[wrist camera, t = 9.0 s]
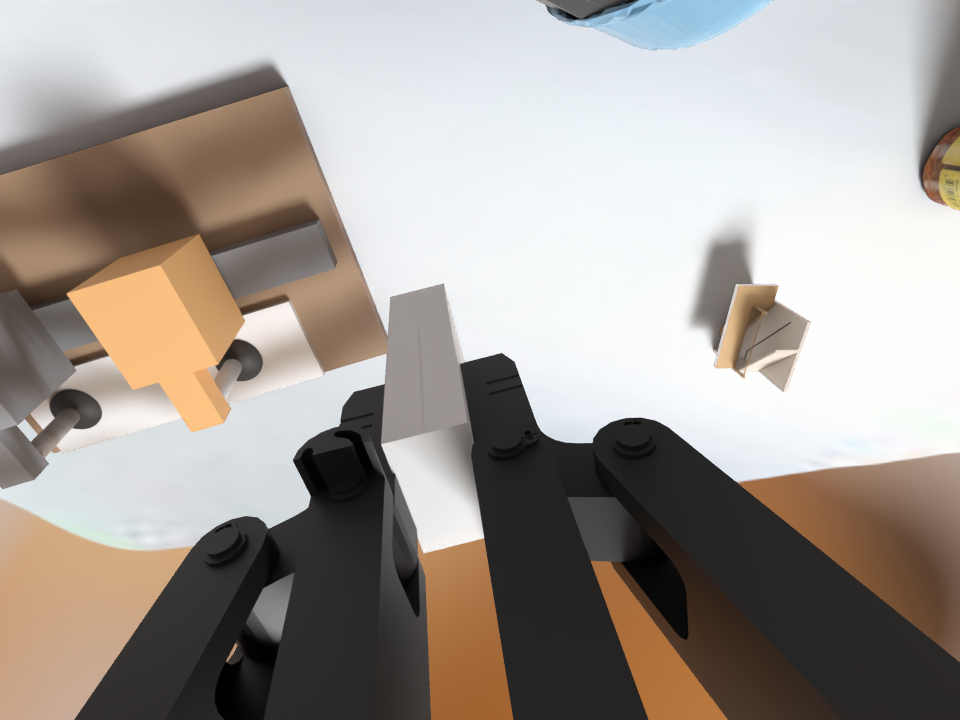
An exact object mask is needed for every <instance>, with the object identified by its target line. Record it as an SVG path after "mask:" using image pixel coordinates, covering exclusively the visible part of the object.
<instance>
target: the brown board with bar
mask: <svg viewBox="0 0 960 720" xmlns="http://www.w3.org/2000/svg"><path fill="white" fill-rule="evenodd" d="M197 234H199V235H200V237H201V239H202V240H203V242H204V244H205V246H206V248H207V250H208V252H209V254H210V255H211V257H212V259H213V261H214V263H215V265H216V267H217V269H218V270H219V272H220V274H221V276H222V278H223V280H224V282H225V284H226V285H227V287H228V289H229V291H230V293H231V295H232V297H233V299H234V300H235V302H236V304H237V306H238V308H239V310H240V312H241V314H242V316H243V317H244V319H245V323H244V324H243V326H242V327H241V329H240V331H239V332H238V334H237V335H236V337H235V339H234V340H233V342H232V343H231V345H230V347H229V348H228V350H227V351H226V353H225V355H224V356H223V358H222V359H221V361H220V363H219V364H218V365H215V366H211V367H208V368H207V370H208V371H209V373H210V375H211V376H212V378H213V380H214V379H215V377H216V376H217V374H218V372H219V371H220V369H221V367H222V366H223V364H224V363H225V361H226V360H228V359H235V360H237V361H239V362H240V363H241V365H242V370H241V372H240V374H239V376H238V378H237V380H236V382H235V384H234V385H233V387H232V389H231V391H230V393H229V395H228V397H227V398H226V401H227V403H228V404H230V403H233V402H237V401H240V400H243V399H247V398H250V397H253V396H257V395H260V394H263V393H267V392H270V391H273V390H277V389H280V388H283V387H287V386H290V385H293V384H297V383H300V382H303V381H307V380H310V379H313V378H317V377H320V376H323V375H324V373H325V372H326V371H330V370H333V369H336V368H340V367H343V366H346V365H350V364H353V363H356V362H360V361H363V360H366V359H370V358H373V357H376V356H380V355H383V354H386V353H387V343H388V336H387V334H386V331H385V329H384V326H383V324H382V321H381V319H380V316H379V314H378V311H377V309H376V306H375V304H374V301H373V298H372V296H371V293H370V291H369V288H368V286H367V283H366V281H365V278H364V276H363V273H362V271H361V268H360V266H359V263H358V261H357V258H356V256H355V253H354V251H353V248H352V245H351V243H350V240H349V238H348V235H347V233H346V230H345V228H344V225H343V223H342V220H341V218H340V215H339V213H338V210H337V208H336V205H335V203H334V200H333V197H332V195H331V192H330V190H329V187H328V185H327V182H326V180H325V177H324V175H323V172H322V170H321V167H320V165H319V162H318V160H317V157H316V155H315V152H314V149H313V147H312V144H311V142H310V139H309V137H308V134H307V132H306V129H305V127H304V124H303V122H302V119H301V117H300V114H299V112H298V109H297V107H296V104H295V102H294V99H293V96H292V94H291V91H290V89H289V87H283V88H280V89H277V90H274V91H271V92H267V93H264V94H261V95H258V96H254V97H251V98H248V99H245V100H242V101H238V102H235V103H232V104H229V105H225V106H222V107H219V108H216V109H212V110H209V111H206V112H203V113H200V114H196V115H193V116H190V117H187V118H183V119H180V120H177V121H174V122H170V123H167V124H164V125H161V126H158V127H154V128H151V129H148V130H145V131H141V132H138V133H135V134H132V135H129V136H125V137H122V138H119V139H116V140H112V141H109V142H106V143H103V144H99V145H96V146H93V147H90V148H87V149H83V150H80V151H77V152H74V153H70V154H67V155H64V156H61V157H57V158H54V159H51V160H48V161H45V162H41V163H38V164H35V165H32V166H28V167H25V168H22V169H19V170H16V171H12V172H9V173H6V174H3V175H0V487H1V488H2V489H5V488H8V487H11V486H15V485H18V484H21V483H25V482H28V481H31V480H35V479H36V477H37V476H38V475H39V474H40V473H41V472H42V471H43V470H44V468H45V467H46V466H47V465H48V464H49V463H48V462H47V461H46V460H45V457H46V456H47V455H48V454H49V453H50V452H51V451H52V452H53V453H57V452H60V451H61V452H62V453H63V454H64V453H67V452H70V451H74V450H77V449H80V448H84V447H87V446H90V445H94V444H97V443H100V442H104V441H107V440H110V439H114V438H117V437H120V436H124V435H127V434H130V433H134V432H137V431H140V430H144V429H147V428H150V427H154V426H157V425H160V424H164V423H167V422H170V421H174V420H177V419H180V418H182V417H181V415H180V414H179V412H178V411H177V409H176V408H175V406H174V405H173V403H172V402H171V400H170V399H169V397H168V396H167V394H166V393H165V391H164V390H163V388H162V387H161V385H160V384H159V382H158V383H155V384H152V385H148V386H145V387H142V388H138V389H135V390H133V389H132V388H131V386H130V385H129V383H128V382H127V380H126V379H125V378H124V376H123V375H122V373H121V372H120V370H119V369H118V367H117V366H116V365H115V363H114V362H113V360H112V359H111V357H110V356H109V354H108V353H107V352H106V350H105V349H104V347H103V346H102V344H101V343H100V342H99V340H98V339H97V337H96V336H95V334H94V333H93V331H92V330H91V329H90V327H89V326H88V324H87V323H86V321H85V320H84V318H83V317H82V316H81V314H80V313H79V311H78V310H77V308H76V307H75V305H74V304H73V303H72V301H71V300H70V298H69V297H68V295H67V293H68V292H70V291H71V290H73V289H74V288H76V287H77V286H79V285H80V284H82V283H83V282H85V281H86V280H88V279H89V278H91V277H92V276H94V275H95V274H97V273H98V272H100V271H101V270H103V269H104V268H106V267H107V266H109V265H110V264H112V263H113V262H115V261H116V260H118V259H119V258H122V257H125V256H128V255H131V254H135V253H138V252H141V251H144V250H148V249H151V248H154V247H158V246H161V245H164V244H167V243H171V242H174V241H177V240H180V239H184V238H187V237H190V236H193V235H197ZM24 419H26V421H27V422H28V423H29V424H30V425H31V427H32V428H33V429H34V430H35V431H36V433H37V434H38V435H37V436H36V437H35V438H34V439H33V440H32V441H31V442H30V441H29V440H28V438H27V437H26V436H25V435H24V434H23V433H22V431H21V430H20V429H19V428H18V427H17V426H16V425H18V424H20V423H21V422H22V421H23V420H24Z"/></svg>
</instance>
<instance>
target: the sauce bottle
mask: <svg viewBox="0 0 960 720" xmlns="http://www.w3.org/2000/svg"><path fill="white" fill-rule="evenodd" d="M922 178H923V184H924V190H925V192H926V194H927V196H928V197H929V198H930V199H931V200H933V201H935V202H937V203H939V204H942V205H945V206H950V207H951V208H953V209H955V210H959V211H960V126H959V127H956V128H954V129H953V130H951V131H950V132H948V133H947V134H945V135H944V136H943V137H942V139H941V140H940V141H939V142H938V144H937V145H936V146H935V148H934V150H933V151H932V153H931V155H930V156H929V158H928V160H927V162H926V164H925V167H924V172H923V177H922Z"/></svg>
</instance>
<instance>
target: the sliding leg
mask: <svg viewBox="0 0 960 720" xmlns="http://www.w3.org/2000/svg"><path fill="white" fill-rule="evenodd" d="M67 295H68V297H69V298H70V300H71V301H72V303H73V304H74V305H75V307H76V308H77V310H78V311H79V313H80V314H81V316H82V317H83V318H84V320H85V321H86V323H87V324H88V326H89V327H90V329H91V330H92V331H93V333H94V334H95V336H96V337H97V339H98V340H99V342H100V343H101V344H102V346H103V347H104V349H105V350H106V352H107V353H108V354H109V356H110V357H111V359H112V360H113V362H114V363H115V365H116V366H117V367H118V369H119V370H120V372H121V373H122V375H123V376H124V378H125V379H126V380H127V382H128V383H129V385H130V386H131V388H132V389H133V390H135V389H138V388H142V387H145V386H148V385H152V384H155V383H158V382H159V384H160V385H161V387H162V388H163V390H164V391H165V393H166V394H167V396H168V397H169V399H170V400H171V402H172V403H173V405H174V406H175V408H176V409H177V411H178V412H179V414H180V415H181V417H182V418H183V420H184V421H185V423H186V425H187V426H188V428H189V429H190V431H191V432H195V431H198V430H201V429H205V428H208V427H211V426H215V425H218V424H221V423H224V422H225V420H226V418H227V416H228V414H229V412H230V410H231V408H230V406H229V405H228V403H227V401H226V398H227V397H228V395H229V393H230V391H231V389H232V387H233V385H234V384H235V382H236V380H237V378H238V376H239V374H240V372H241V370H242V365H241V363H240V362H239V361H237V360H235V359H228V360H226V361H225V363H224V364H223V366H222V367H221V369H220V371H219V372H218V374H217V376H216V377H215V379H214V380H213V378H212V376H211V375H210V373H209V371H208V370H207V368H208V367H211V366H215V365H218V364H219V363H220V361H221V359H222V358H223V356H224V355H225V353H226V351H227V350H228V348H229V347H230V345H231V343H232V342H233V340H234V339H235V337H236V335H237V334H238V332H239V331H240V329H241V327H242V326H243V324H244V323H245V319H244V317H243V316H242V314H241V312H240V310H239V308H238V306H237V304H236V302H235V300H234V299H233V297H232V295H231V293H230V291H229V289H228V287H227V285H226V284H225V282H224V280H223V278H222V276H221V274H220V272H219V270H218V269H217V267H216V265H215V263H214V261H213V259H212V257H211V255H210V254H209V252H208V250H207V248H206V246H205V244H204V242H203V240H202V239H201V237H200V235H199V234H197V235H193V236H190V237H187V238H184V239H180V240H177V241H174V242H171V243H167V244H164V245H161V246H158V247H154V248H151V249H148V250H144V251H141V252H138V253H135V254H131V255H128V256H125V257H122V258H119V259H118V260H116V261H115V262H113V263H112V264H110V265H109V266H107V267H106V268H104V269H103V270H101V271H100V272H98V273H97V274H95V275H94V276H92V277H91V278H89V279H88V280H86V281H85V282H83V283H82V284H80V285H79V286H77V287H76V288H74V289H73V290H71V291H70V292H68V293H67Z"/></svg>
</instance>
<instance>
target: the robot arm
mask: <svg viewBox="0 0 960 720" xmlns="http://www.w3.org/2000/svg"><path fill="white" fill-rule="evenodd" d="M537 1H539V2H541V3H543V4H545V5H546V7H547V10H548V12H549V13H550V14H551V15H552V16H554V17H555V18H557V19H558V20H560V21H562V22H564V23H566V24H569V25H574V26H583V27H592V28H594V29H597V30H599V31H601V32H603V33H606V34H608V35H610V36H613V37H615V38H617V39H619V40H622V41H624V42H626V43H628V44H631V45H633V46H635V47H638V48H641V49H647V50H659V49H671V50H675V49H678V48H686V47H691V46H694V45H697V44H699V43H702V42H705V41H707V40H710V39H712V38H714V37H716V36H718V35H720V34H722V33H724V32H726V31H728V30H730V29H731V28H733V27H735V26H737V25H738V24H740V23H742V22H743V21H745V20H746V19H748V18H749V17H751V16H752V15H754V14H755V13H757V12H758V11H760V10H761V9H763V8H764V7H765V6H767V5H768V4H769V3H770V2H772V1H773V0H537ZM340 421H341V424H340V426H339V427H335V428H332V429H329V430H327V431H324V432H321V433H320V434H318V435H316V436H315V437H313V438H311V439H310V440H308V441H307V442H306V443H305V444H304V445H303V446H302V447H301V448H300V449H299V450H298V452H297V453H296V455H295V457H294V459H293V462H294V464H295V466H296V468H297V470H298V472H299V473H300V475H301V477H302V479H303V481H304V483H305V485H306V487H307V489H308V491H309V493H310V495H311V499H310V503H309V507H308V508H307V509H306V510H305V511H303V512H301V513H299V514H298V515H296V516H294V517H292V518H290V519H288V520H286V521H284V522H282V523H280V524H278V525H276V526H274V527H272V528H270V529H268V528H267V526H266V524H265V523H264V522H263V521H261V520H260V519H259V518H257V517H248V516H245V517H240V518H236V519H231V520H229V521H227V522H225V523H223V524H221V525H219V526H217V527H215V528H214V529H212V530H211V531H210V532H208V533H207V534H206V535H204V536H203V537H202V538H201V539H200V540H199V541H198V542H197V544H196V545H195V546H194V547H193V548H192V549H191V551H190V552H189V553H188V555H187V556H186V558H185V559H184V561H183V562H182V564H181V565H180V567H179V568H178V569H177V571H176V572H175V574H174V576H173V577H172V578H171V580H170V581H169V583H168V584H167V586H166V587H165V588H164V590H163V591H162V593H161V594H160V596H159V597H158V599H157V600H156V602H155V603H154V604H153V606H152V607H151V609H150V610H149V612H148V613H147V615H146V616H145V618H144V619H143V621H142V622H141V623H140V625H139V626H138V628H137V629H136V631H135V632H134V634H133V635H132V637H131V638H130V640H129V641H128V642H127V644H126V645H125V647H124V648H123V650H122V651H121V653H120V654H119V656H118V657H117V658H116V660H115V661H114V663H113V664H112V666H111V667H110V669H109V670H108V671H107V673H106V675H105V676H104V677H103V679H102V681H101V682H100V683H99V685H98V686H97V688H96V689H95V691H94V692H93V693H92V695H91V696H90V698H89V699H88V701H87V702H86V704H85V705H84V706H83V708H82V709H81V711H80V712H79V714H78V715H77V717H76V718H75V720H431V706H430V682H429V658H428V634H427V609H426V587H425V586H426V585H425V574H424V571H423V568H422V565H421V563H420V560H419V558H418V546H417V537H418V539H419V542H420V545H421V547H422V550H423V552H424V553H426V552H430V551H434V550H438V549H443V548H447V547H450V546H454V545H458V544H462V543H466V542H470V541H474V540H478V539H482V538H484V539H485V545H486V551H487V558H488V564H489V570H490V576H491V583H492V589H493V595H494V602H495V607H496V613H497V619H498V626H499V633H500V639H501V645H502V651H503V657H504V664H505V670H506V676H507V682H508V688H509V695H510V701H511V707H512V713H513V719H514V720H648V717H647V714H646V712H645V709H644V706H643V703H642V701H641V698H640V695H639V693H638V690H637V687H636V685H635V682H634V679H633V676H632V673H631V671H630V668H629V665H628V663H627V660H626V657H625V654H624V652H623V649H622V646H621V643H620V641H619V638H618V635H617V632H616V630H615V627H614V624H613V621H612V619H611V616H610V613H609V610H608V608H607V605H606V602H605V600H604V597H603V594H602V591H601V588H600V586H599V583H598V580H597V578H596V575H595V572H594V569H593V567H592V564H591V561H611V564H612V565H613V568H614V569H615V570H616V572H617V573H618V575H619V576H620V577H621V579H622V580H623V581H624V582H625V584H626V585H627V586H628V588H629V589H630V590H631V592H632V593H633V594H634V596H635V597H636V598H637V600H638V601H639V602H640V603H641V605H642V606H643V608H644V609H645V610H646V611H647V613H648V614H649V615H650V617H651V618H652V620H653V621H654V622H655V624H656V625H657V626H658V627H659V629H660V630H661V631H662V633H663V634H664V636H665V637H666V638H667V639H668V641H669V642H670V643H671V645H672V646H673V647H674V649H675V650H676V651H677V653H678V654H679V655H680V657H681V658H682V659H683V661H684V662H685V663H686V665H687V666H688V667H689V668H690V670H691V671H692V673H693V674H694V675H695V677H696V678H697V679H698V681H699V682H700V683H701V684H702V686H703V687H704V688H705V690H706V691H707V692H708V694H709V695H710V696H711V698H712V699H713V700H714V702H715V703H716V704H717V706H718V707H719V708H720V710H721V711H722V712H723V714H724V715H725V716H726V717H727V719H728V720H960V662H958V661H957V660H956V659H955V658H954V657H952V656H951V655H950V654H949V653H947V652H946V651H945V650H944V649H943V648H941V647H940V646H939V645H938V644H936V643H935V642H934V641H933V640H931V639H930V638H929V637H927V636H926V635H925V634H924V633H923V632H921V631H920V630H919V629H918V628H916V627H915V626H914V625H913V624H911V623H910V622H909V621H908V620H906V619H905V618H904V617H903V616H902V615H900V614H899V613H898V612H896V611H895V610H894V609H893V608H892V607H890V606H889V605H888V604H887V603H885V602H884V601H883V600H882V599H880V598H879V597H878V596H877V595H875V594H874V593H873V592H872V591H871V590H869V589H868V588H867V587H866V586H864V585H863V584H862V583H860V582H859V581H858V580H857V579H856V578H854V577H853V576H852V575H850V574H849V573H848V572H847V571H846V570H844V569H843V568H842V567H841V566H839V565H838V564H837V563H836V562H835V561H833V560H832V559H831V558H830V557H828V556H827V555H826V554H825V553H823V552H822V551H821V550H820V549H818V548H817V547H816V546H815V545H813V544H812V543H811V542H810V541H809V540H807V539H806V538H805V537H803V536H802V535H801V534H800V533H799V532H797V531H796V530H795V529H794V528H792V527H791V526H790V525H789V524H787V523H786V522H785V521H784V520H782V519H781V518H780V517H779V516H778V515H776V514H775V513H774V512H772V511H771V510H770V509H769V508H768V507H766V506H765V505H764V504H763V503H761V502H760V501H759V500H758V499H756V498H755V497H754V496H753V495H751V494H750V493H749V492H748V491H746V490H745V489H744V488H742V486H740V485H739V484H738V483H737V482H735V481H734V480H733V479H732V478H730V477H729V476H728V475H727V474H725V473H724V472H723V471H722V470H720V469H719V468H718V467H717V466H715V465H714V464H713V463H712V462H711V461H709V460H708V459H707V458H706V457H704V456H703V455H702V454H701V453H699V452H698V451H697V450H696V449H694V448H693V447H692V446H691V445H689V444H688V443H687V442H686V441H684V440H683V439H682V438H681V437H679V436H678V435H677V434H676V433H675V432H673V431H672V430H671V429H670V428H668V427H667V426H665V425H663V424H661V423H659V422H657V421H654V420H650V419H645V418H625V419H621V420H617V421H614V422H611V423H609V424H608V425H606V426H604V427H603V428H601V429H600V430H599V431H598V433H597V434H596V436H595V437H594V438H593V443H565V442H561V441H556V440H554V439H552V438H550V437H548V436H546V435H545V434H544V433H543V432H541V431H540V429H539V427H538V425H537V423H536V420H535V418H534V415H533V412H532V409H531V406H530V404H529V401H528V398H527V395H526V393H525V390H524V387H523V384H522V381H521V379H520V377H519V373H518V370H517V368H516V365H515V362H514V361H512V360H511V359H510V358H508V357H507V356H505V355H504V354H502V353H501V354H497V355H493V356H489V357H485V358H481V359H477V360H473V361H469V362H465V361H464V357H463V353H462V350H461V346H460V342H459V338H458V335H457V331H456V327H455V324H454V320H453V316H452V313H451V309H450V305H449V301H448V298H447V294H446V290H445V287H444V284H440V285H436V286H433V287H429V288H425V289H421V290H417V291H413V292H409V293H405V294H401V295H397V296H393V297H390V312H389V328H388V343H387V359H386V375H385V384H384V385H380V386H376V387H372V388H368V389H364V390H360V391H356V392H354V393H353V394H352V395H351V397H350V398H349V399H348V401H347V402H346V403H345V405H344V406H343V409H342V415H341V420H340ZM235 643H236V644H237V645H238V646H237V648H236V650H235V652H234V654H233V655H232V656H231V658H230V659H229V661H228V662H226V660H227V658H228V656H229V654H230V652H231V650H232V648H233V647H234V645H235Z"/></svg>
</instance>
